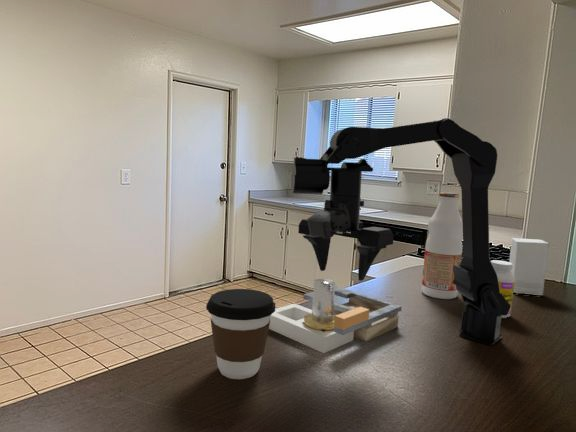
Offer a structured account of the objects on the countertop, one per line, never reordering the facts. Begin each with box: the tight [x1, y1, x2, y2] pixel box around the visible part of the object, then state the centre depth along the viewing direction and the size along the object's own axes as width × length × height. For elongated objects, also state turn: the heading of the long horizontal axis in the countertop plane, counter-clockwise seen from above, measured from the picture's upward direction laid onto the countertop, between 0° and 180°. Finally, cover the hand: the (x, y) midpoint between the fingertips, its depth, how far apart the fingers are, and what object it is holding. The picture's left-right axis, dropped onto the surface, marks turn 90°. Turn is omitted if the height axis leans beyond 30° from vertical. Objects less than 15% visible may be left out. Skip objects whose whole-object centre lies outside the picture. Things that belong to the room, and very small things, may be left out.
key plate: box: [302, 285, 403, 335], centre depth 88 cm, size 18×20×3 cm
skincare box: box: [508, 237, 550, 296], centre depth 122 cm, size 8×7×16 cm
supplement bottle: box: [490, 259, 515, 319], centre depth 102 cm, size 7×7×13 cm
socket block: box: [333, 297, 399, 342], centre depth 90 cm, size 12×12×4 cm
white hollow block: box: [269, 303, 354, 354], centre depth 84 cm, size 16×9×3 cm, turn 46°
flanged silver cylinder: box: [304, 278, 336, 332], centre depth 82 cm, size 7×7×11 cm
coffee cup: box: [205, 288, 276, 380], centre depth 68 cm, size 11×11×12 cm
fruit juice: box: [421, 191, 463, 300], centre depth 115 cm, size 9×9×28 cm
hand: (341, 275), depth 82 cm, fingers open, 9 cm apart
